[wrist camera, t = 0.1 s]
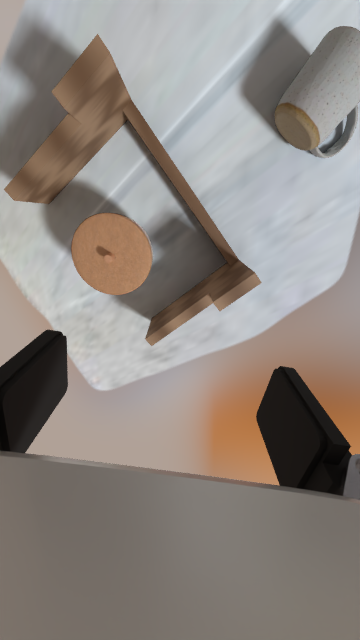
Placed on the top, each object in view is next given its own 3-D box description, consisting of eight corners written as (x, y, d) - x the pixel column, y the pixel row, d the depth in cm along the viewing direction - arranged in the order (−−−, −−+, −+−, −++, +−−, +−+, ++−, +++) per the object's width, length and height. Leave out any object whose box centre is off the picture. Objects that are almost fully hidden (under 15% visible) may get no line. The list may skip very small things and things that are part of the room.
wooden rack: (128, 99, 31) (97, 33, 20) (239, 264, 39) (261, 282, 28) (41, 195, 35) (-24, 185, 24) (157, 324, 44) (147, 360, 33)
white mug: (261, 121, 32) (285, 95, 24) (309, 54, 29) (351, 2, 22) (314, 176, 34) (349, 167, 27) (363, 119, 31) (415, 92, 24)
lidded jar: (89, 273, 40) (63, 289, 32) (94, 205, 36) (66, 202, 27) (151, 287, 41) (142, 306, 32) (163, 222, 37) (156, 224, 28)
